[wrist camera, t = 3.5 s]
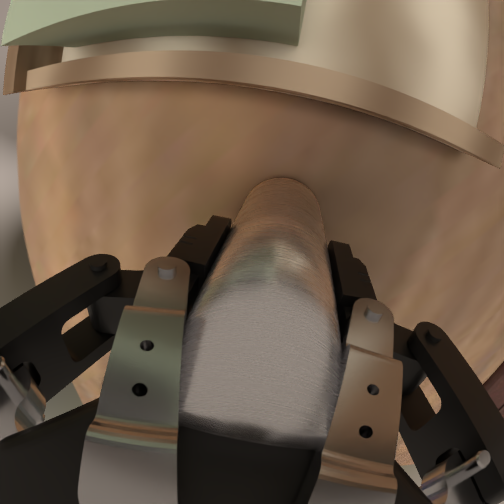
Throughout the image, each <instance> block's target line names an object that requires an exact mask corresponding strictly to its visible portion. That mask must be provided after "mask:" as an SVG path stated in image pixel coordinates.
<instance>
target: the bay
mask: <svg viewBox="0 0 504 504" xmlns="http://www.w3.org/2000/svg"><path fill="white" fill-rule="evenodd" d="M488 35H489V7H488V0H307V1H306V6H305V12H304V17H303V22H302V28H301V33H300V39H299V44H298V46H294V45H288V44H283V43H276V42H270V41H262V40H254V39H245V38H233V37H218V36H159V37H144V38H133V39H124V40H116V41H109V42H102V43H96V44H91V45H85V46H80V47H76V48H74V47H61V46H40V45H14V46H9V47H8V53H7V60H6V68H5V77H4V88H3V95H7V94H11V93H18V92H24V91H31V90H39V89H47V88H57V87H64V86H71V85H79V84H89V83H100V82H115V81H150V80H153V81H188V82H204V83H216V84H226V85H234V86H242V87H250V88H257V89H263V90H269V91H275V92H281V93H286V94H291V95H296V96H301V97H305V98H310V99H314V100H318V101H322V102H326V103H330V104H334V105H338V106H342V107H345V108H349V109H352V110H356V111H359V112H362V113H365V114H369V115H372V116H375V117H378V118H381V119H384V120H387V121H389V122H392V123H395V124H398V125H400V126H403V127H406V128H408V129H411V130H413V131H416V132H418V133H421V134H423V135H426V136H428V137H430V138H433V139H435V140H437V141H440V142H442V143H444V144H446V145H448V146H450V147H453V148H455V149H457V150H459V151H461V152H463V153H466V154H468V155H470V156H473V157H475V158H477V159H480V160H482V161H484V162H486V163H488V164H491V165H493V166H495V167H497V168H499V169H500V166H501V162H502V158H503V155H504V145H503V144H501V143H500V142H498V141H497V140H495V139H493V138H492V137H490V136H489V135H487V134H485V133H484V132H482V131H480V130H478V129H477V128H476V127H477V123H478V118H479V113H480V107H481V102H482V96H483V89H484V82H485V74H486V65H487V53H488Z"/></svg>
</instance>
